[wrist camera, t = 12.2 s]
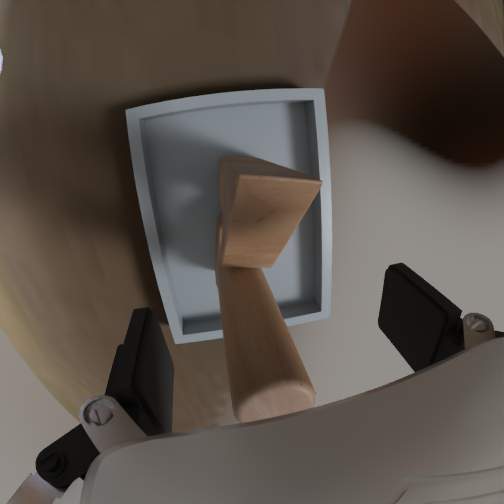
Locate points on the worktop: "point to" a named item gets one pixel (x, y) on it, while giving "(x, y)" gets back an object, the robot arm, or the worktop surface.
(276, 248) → the wooden mallet
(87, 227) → the worktop surface
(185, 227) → the tray
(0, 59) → the soap bottle
